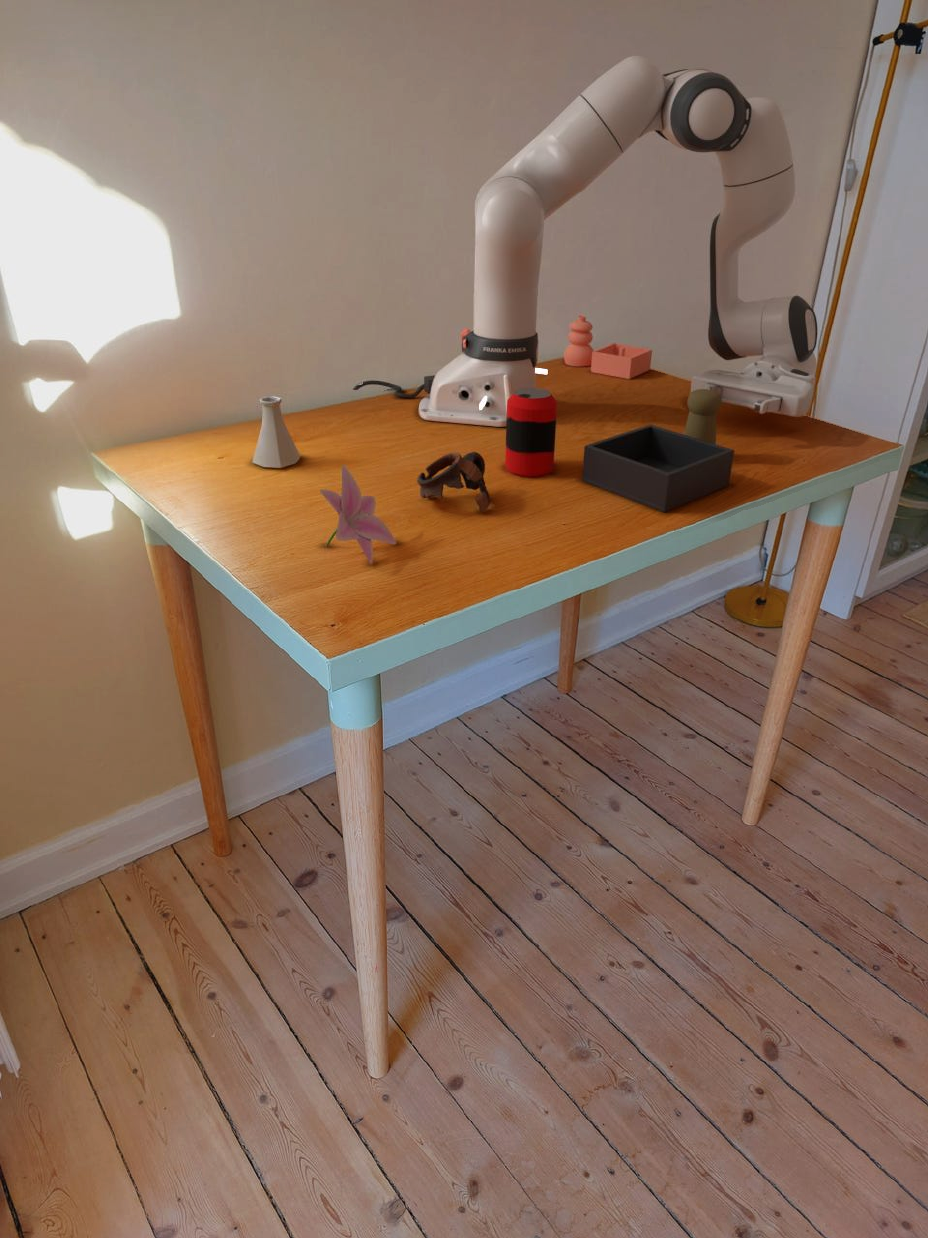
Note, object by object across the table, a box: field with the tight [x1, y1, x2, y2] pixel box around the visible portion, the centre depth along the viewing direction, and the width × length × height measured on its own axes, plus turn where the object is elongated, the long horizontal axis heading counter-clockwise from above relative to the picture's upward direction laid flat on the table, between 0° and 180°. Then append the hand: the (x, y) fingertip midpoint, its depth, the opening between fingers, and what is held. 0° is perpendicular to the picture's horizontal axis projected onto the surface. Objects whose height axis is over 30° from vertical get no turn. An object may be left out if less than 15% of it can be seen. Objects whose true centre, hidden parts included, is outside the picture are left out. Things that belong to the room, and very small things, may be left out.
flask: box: [252, 395, 301, 469], centre depth 141 cm, size 7×7×10 cm
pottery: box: [563, 315, 653, 380], centre depth 191 cm, size 18×10×10 cm, turn 53°
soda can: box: [504, 387, 558, 478], centre depth 138 cm, size 8×8×12 cm
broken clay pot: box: [416, 451, 492, 514], centre depth 129 cm, size 12×10×8 cm
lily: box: [319, 464, 397, 565], centre depth 114 cm, size 12×12×10 cm
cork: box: [682, 389, 723, 445], centre depth 143 cm, size 6×6×11 cm
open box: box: [581, 424, 735, 513], centre depth 135 cm, size 16×16×6 cm
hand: (731, 402), depth 150 cm, fingers open, 8 cm apart
